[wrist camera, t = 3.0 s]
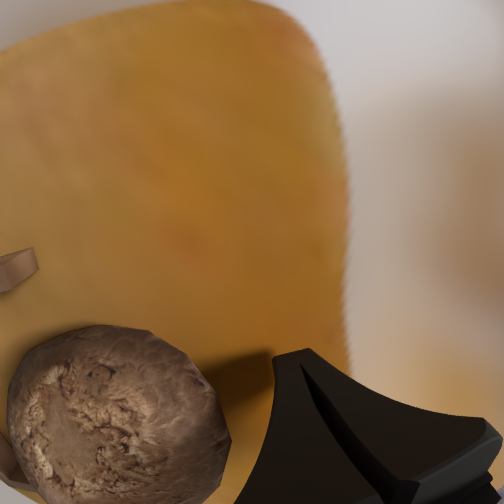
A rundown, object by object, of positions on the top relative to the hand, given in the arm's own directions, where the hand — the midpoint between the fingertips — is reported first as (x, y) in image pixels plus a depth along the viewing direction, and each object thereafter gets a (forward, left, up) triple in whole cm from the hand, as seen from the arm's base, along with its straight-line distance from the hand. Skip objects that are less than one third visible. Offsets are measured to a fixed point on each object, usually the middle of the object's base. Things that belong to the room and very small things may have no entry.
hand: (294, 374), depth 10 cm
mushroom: (0, +7, -1) cm, 7 cm away
